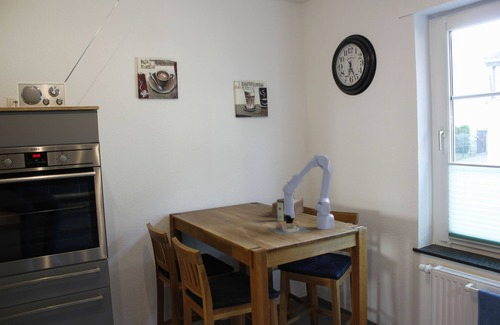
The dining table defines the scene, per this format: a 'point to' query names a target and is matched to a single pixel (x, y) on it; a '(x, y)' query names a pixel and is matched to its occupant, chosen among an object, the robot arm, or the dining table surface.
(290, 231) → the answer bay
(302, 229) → the slate board
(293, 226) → the maple cube
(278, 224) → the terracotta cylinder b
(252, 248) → the dining table surface
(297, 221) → the pink rounded cylinder
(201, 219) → the dining table surface
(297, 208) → the tissue box cover
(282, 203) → the coffee can
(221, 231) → the dining table surface
